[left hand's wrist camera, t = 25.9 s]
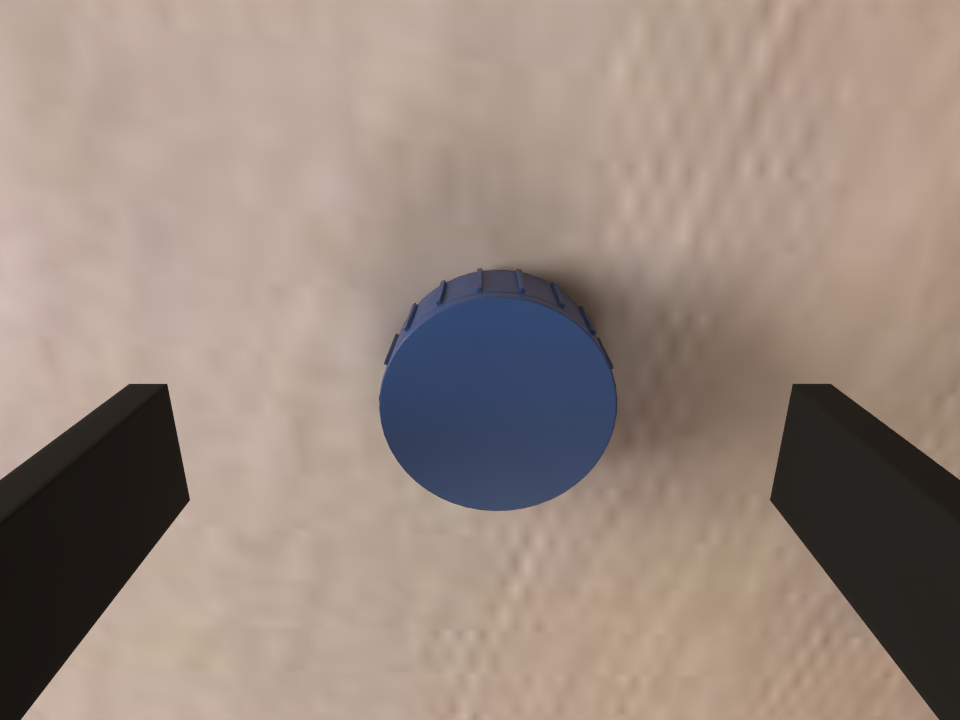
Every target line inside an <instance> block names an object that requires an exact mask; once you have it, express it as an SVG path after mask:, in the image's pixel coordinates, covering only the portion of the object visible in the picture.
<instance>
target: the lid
mask: <svg viewBox="0 0 960 720" xmlns="http://www.w3.org/2000/svg"><path fill="white" fill-rule="evenodd" d="M595 334H596V332H595V330H594V328H593V326H592V324H591V322H590V320H589V318H588V316H587V314H586V312H585V310H584V308H583V307H582V306H581V307H580V308H578V306H577V305H576V304H575V303H574V302H573V301H572V300H571V299H570V298H569V297H568V296H567V295H566V294H565V293H563V292H562V291H560V290H559V288H558V286H557V284H556V283H554V282H553V283H552V285H551V284H549V283H548V282H546V281H544V280H542V279H539V278H537V277H534V276H531V275H528V274H524V273H522V271H521V270H520V269H517V270H516V272H515V271H505V270H489V271H482V268H480V269H477V272H475V273H470V274H467V275H463V276H460V277H457V278H455V279H453V280H451V281H449V282H446V281H445V280H444V281H442V282H441V284H440V287H438V288H437V289H435V290H433V291H432V292H431V293H430V294H429V295H427V296H426V297H425V298H424V299H423V300H422V301H421V302H420V303H419V304H418V305H417V304H416V303H414V305H413V306H412V308H411V311H410V313H409V316H408V318H407V320H406V322H405V324H404V326H403V328H402V330H401V332H400V334H399V335H398V334H396V335H395V338H394V340H393V342H392V345H391V347H390V350H389V352H388V355H387V357H386V359H385V362H384V364H386V365H387V367H386V370H385V374H384V377H383V380H382V385H381V390H380V396H379V401H380V405H379V409H380V418H381V424H382V428H383V432H384V435H385V438H386V440H387V443H388V445H389V447H390V449H391V451H392V453H393V454H394V456H395V458H396V459H397V461H398V462H399V464H400V465H401V466H402V467H403V469H404V470H405V471H406V472H407V473H408V474H409V475H410V476H411V477H412V478H413V479H414V480H415V481H416V482H417V483H419V484H420V485H421V486H423V487H424V488H425V489H427V490H428V491H430V492H431V493H433V494H435V495H437V496H438V497H440V498H442V499H445V500H447V501H449V502H452V503H454V504H458V505H461V506H464V507H468V508H473V509H479V510H489V511H507V510H516V509H522V508H527V507H531V506H534V505H538V504H541V503H543V502H546V501H548V500H551V499H553V498H555V497H557V496H559V495H561V494H562V493H564V492H566V491H567V490H569V489H570V488H571V487H573V486H574V485H576V484H577V483H578V482H579V481H580V480H581V479H583V478H584V477H585V476H586V475H587V474H588V473H589V472H590V470H591V469H592V468H593V467H594V466H595V465H596V463H597V462H598V460H599V459H600V457H601V456H602V454H603V453H604V451H605V449H606V447H607V445H608V443H609V441H610V438H611V435H612V432H613V429H614V425H615V419H616V414H617V394H616V385H615V381H614V377H613V373H612V370H611V369H613V365H612V363H611V361H610V359H609V357H608V355H607V353H606V351H605V349H604V347H603V345H602V343H601V341H600V339H599V338H596V336H595Z"/></svg>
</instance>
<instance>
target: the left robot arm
mask: <svg viewBox="0 0 960 720" xmlns="http://www.w3.org/2000/svg"><path fill="white" fill-rule="evenodd" d="M189 500H190V498H189V493H188V488H187V483H186V478H185V472H184V467H183V462H182V457H181V452H180V447H179V442H178V437H177V432H176V427H175V422H174V416H173V411H172V406H171V401H170V396H169V391H168V386H167V384H129V385H127V386H126V387H125V388H123V389H122V390H121V391H119V392H118V393H117V394H115V395H114V396H113V397H111V398H110V399H109V400H107V401H106V402H104V403H103V404H102V405H100V406H99V407H98V408H96V409H95V410H94V411H92V412H91V413H90V414H88V415H87V416H86V417H84V418H83V419H82V420H80V421H79V422H78V423H76V424H75V425H74V426H72V427H71V428H70V429H68V430H67V431H66V432H64V433H63V434H61V435H60V436H59V437H57V438H56V439H55V440H53V441H52V442H51V443H49V444H48V445H47V446H45V447H44V448H43V449H41V450H40V451H39V452H37V453H36V454H35V455H33V456H32V457H31V458H29V459H28V460H27V461H25V462H24V463H22V464H21V465H20V466H18V467H17V468H16V469H14V470H13V471H12V472H10V473H9V474H8V475H6V476H5V477H4V478H2V479H1V480H0V720H21V719H22V717H23V716H24V715H25V713H26V712H27V711H28V710H29V708H30V707H31V706H32V704H33V703H34V702H35V701H36V699H37V698H38V697H39V695H40V694H41V693H42V691H43V690H44V689H45V688H46V686H47V685H48V684H49V682H50V681H51V680H52V678H53V677H54V676H55V675H56V673H57V672H58V671H59V669H60V668H61V667H62V665H63V664H64V663H65V662H66V660H67V659H68V658H69V656H70V655H71V654H72V652H73V651H74V650H75V649H76V647H77V646H78V645H79V643H80V642H81V641H82V639H83V638H84V637H85V636H86V634H87V633H88V632H89V630H90V629H91V628H92V626H93V625H94V624H95V623H96V621H97V620H98V619H99V617H100V616H101V615H102V613H103V612H104V611H105V610H106V608H107V607H108V606H109V604H110V603H111V602H112V600H113V599H114V598H115V597H116V595H117V594H118V593H119V591H120V590H121V589H122V587H123V586H124V585H125V584H126V582H127V581H128V580H129V578H130V577H131V576H132V575H133V573H134V572H135V571H136V569H137V568H138V567H139V565H140V564H141V563H142V562H143V560H144V559H145V558H146V556H147V555H148V554H149V552H150V551H151V550H152V549H153V547H154V546H155V545H156V543H157V542H158V541H159V539H160V538H161V537H162V536H163V534H164V533H165V532H166V530H167V529H168V528H169V526H170V525H171V524H172V523H173V521H174V520H175V519H176V517H177V516H178V515H179V513H180V512H181V511H182V510H183V508H184V507H185V506H186V504H187V503H188V502H189ZM770 500H771V502H772V503H773V504H774V506H775V507H776V508H777V510H778V511H779V512H780V513H781V515H782V516H783V517H784V519H785V520H786V521H787V523H788V524H789V525H790V526H791V528H792V529H793V530H794V532H795V533H796V534H797V535H798V537H799V538H800V539H801V541H802V542H803V543H804V545H805V546H806V547H807V548H808V550H809V551H810V552H811V554H812V555H813V556H814V558H815V559H816V560H817V561H818V563H819V564H820V565H821V567H822V568H823V569H824V571H825V572H826V573H827V574H828V576H829V577H830V578H831V580H832V581H833V582H834V584H835V585H836V586H837V587H838V589H839V590H840V591H841V593H842V594H843V595H844V597H845V598H846V599H847V600H848V602H849V603H850V604H851V606H852V607H853V608H854V610H855V611H856V612H857V613H858V615H859V616H860V617H861V619H862V620H863V621H864V623H865V624H866V625H867V626H868V628H869V629H870V630H871V632H872V633H873V634H874V636H875V637H876V638H877V639H878V641H879V642H880V643H881V645H882V646H883V647H884V649H885V650H886V651H887V652H888V654H889V655H890V656H891V658H892V659H893V660H894V661H895V663H896V664H897V665H898V667H899V668H900V669H901V671H902V672H903V673H904V674H905V676H906V677H907V678H908V680H909V681H910V682H911V684H912V685H913V686H914V687H915V689H916V690H917V691H918V693H919V694H920V695H921V697H922V698H923V699H924V700H925V702H926V703H927V704H928V706H929V707H930V708H931V710H932V711H933V712H934V713H935V715H936V716H937V717H938V719H939V720H960V480H959V479H958V478H956V477H955V476H954V475H952V474H951V473H950V472H948V471H947V470H946V469H944V468H943V467H942V466H940V465H939V464H938V463H936V462H935V461H934V460H932V459H931V458H929V457H928V456H927V455H925V454H924V453H923V452H921V451H920V450H919V449H917V448H916V447H915V446H913V445H912V444H911V443H909V442H908V441H907V440H905V439H904V438H903V437H901V436H900V435H899V434H897V433H896V432H895V431H893V430H892V429H890V428H889V427H888V426H886V425H885V424H884V423H882V422H881V421H880V420H878V419H877V418H876V417H874V416H873V415H872V414H870V413H869V412H868V411H866V410H865V409H864V408H862V407H861V406H860V405H858V404H857V403H856V402H854V401H853V400H852V399H850V398H849V397H847V396H846V395H845V394H843V393H842V392H841V391H839V390H838V389H837V388H835V387H834V386H833V385H831V384H793V386H792V391H791V396H790V401H789V406H788V412H787V417H786V422H785V427H784V432H783V437H782V442H781V447H780V452H779V457H778V462H777V468H776V473H775V478H774V483H773V488H772V493H771V498H770Z"/></svg>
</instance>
